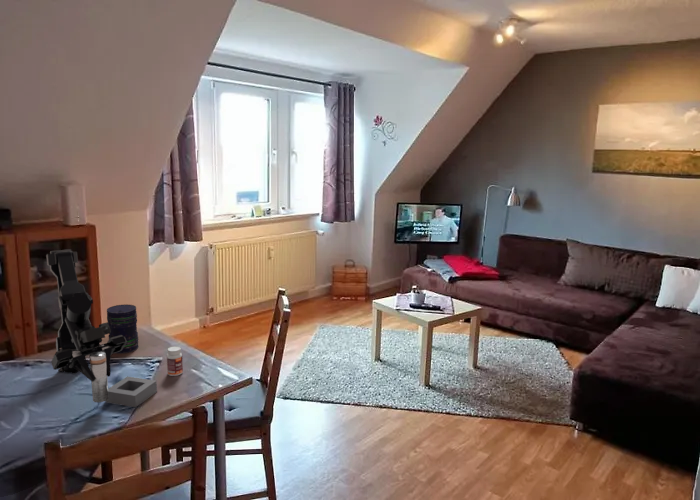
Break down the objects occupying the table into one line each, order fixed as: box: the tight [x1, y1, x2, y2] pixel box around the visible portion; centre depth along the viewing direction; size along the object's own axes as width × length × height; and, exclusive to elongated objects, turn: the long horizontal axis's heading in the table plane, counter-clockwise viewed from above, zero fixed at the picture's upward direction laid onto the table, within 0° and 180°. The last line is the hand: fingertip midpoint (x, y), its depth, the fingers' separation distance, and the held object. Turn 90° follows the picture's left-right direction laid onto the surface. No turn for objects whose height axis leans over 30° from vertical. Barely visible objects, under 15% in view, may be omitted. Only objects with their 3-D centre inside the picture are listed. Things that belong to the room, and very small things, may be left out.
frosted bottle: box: [88, 352, 109, 404], centre depth 146 cm, size 4×4×13 cm
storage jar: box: [106, 303, 140, 354], centre depth 190 cm, size 10×10×15 cm
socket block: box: [104, 375, 158, 408], centre depth 155 cm, size 10×10×4 cm
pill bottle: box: [166, 346, 184, 377], centre depth 171 cm, size 5×5×8 cm
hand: (101, 378), depth 145 cm, fingers closed on frosted bottle, 4 cm apart
